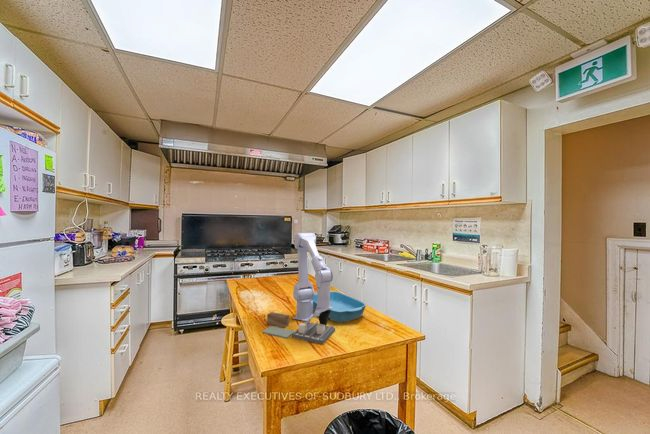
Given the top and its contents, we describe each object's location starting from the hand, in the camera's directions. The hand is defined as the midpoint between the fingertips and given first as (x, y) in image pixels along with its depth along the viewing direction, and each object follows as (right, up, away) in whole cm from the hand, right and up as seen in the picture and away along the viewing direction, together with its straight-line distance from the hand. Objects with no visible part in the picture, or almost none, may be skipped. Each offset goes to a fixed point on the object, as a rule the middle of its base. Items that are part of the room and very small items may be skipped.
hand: (323, 326), depth 118 cm
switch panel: (-4, -3, 0) cm, 5 cm away
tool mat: (-20, -3, +1) cm, 20 cm away
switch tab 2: (-1, -2, -2) cm, 3 cm away
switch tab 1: (-9, -2, -2) cm, 9 cm away
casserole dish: (+7, -4, +27) cm, 28 cm away
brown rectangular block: (-22, -3, +10) cm, 24 cm away
